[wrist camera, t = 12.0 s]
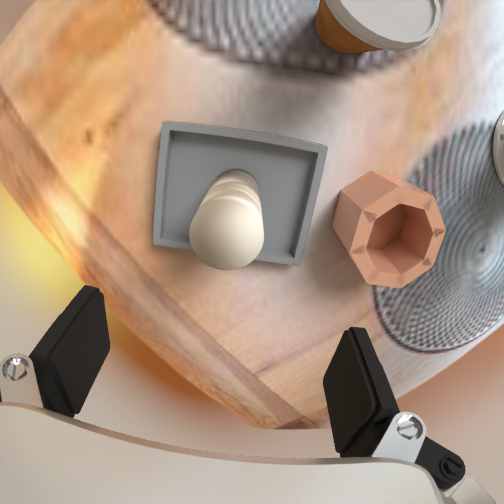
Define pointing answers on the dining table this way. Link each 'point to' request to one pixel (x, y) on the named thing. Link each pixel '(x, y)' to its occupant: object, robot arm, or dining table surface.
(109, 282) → the dining table surface
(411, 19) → the disposable coffee cup
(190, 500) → the robot arm
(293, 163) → the tray
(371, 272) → the terracotta octagonal pot
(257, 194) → the peg
